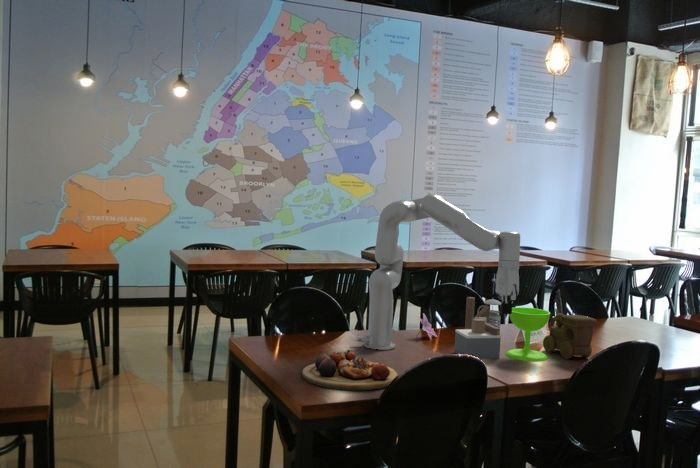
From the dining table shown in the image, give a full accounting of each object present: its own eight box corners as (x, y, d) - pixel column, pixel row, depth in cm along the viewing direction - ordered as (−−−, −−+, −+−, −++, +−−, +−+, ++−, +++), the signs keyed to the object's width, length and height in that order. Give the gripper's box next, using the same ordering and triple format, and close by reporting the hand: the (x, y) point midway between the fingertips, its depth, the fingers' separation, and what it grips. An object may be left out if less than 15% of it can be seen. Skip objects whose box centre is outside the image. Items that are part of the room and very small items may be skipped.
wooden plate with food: (417, 384, 207) (418, 359, 207) (337, 397, 189) (338, 370, 188) (360, 362, 233) (361, 340, 233) (284, 372, 215) (285, 348, 214)
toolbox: (465, 359, 241) (467, 325, 240) (450, 349, 255) (452, 317, 254) (500, 358, 244) (502, 324, 244) (483, 349, 258) (485, 317, 258)
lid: (466, 340, 241) (467, 322, 240) (455, 334, 251) (456, 317, 251) (500, 340, 244) (501, 322, 244) (487, 334, 255) (488, 316, 254)
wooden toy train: (596, 361, 247) (599, 319, 246) (572, 362, 243) (575, 319, 242) (561, 348, 266) (564, 309, 265) (539, 350, 261) (541, 310, 260)
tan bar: (494, 335, 242) (495, 328, 242) (476, 326, 258) (477, 320, 257) (499, 335, 243) (500, 328, 242) (481, 326, 258) (481, 320, 258)
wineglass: (497, 352, 254) (500, 308, 253) (529, 350, 260) (532, 306, 259) (523, 362, 239) (526, 315, 238) (556, 360, 246) (559, 314, 245)
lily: (418, 343, 268) (430, 325, 267) (402, 327, 277) (414, 309, 276) (435, 348, 276) (447, 330, 275) (420, 333, 285) (431, 315, 283)
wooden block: (488, 338, 279) (490, 297, 278) (466, 339, 276) (469, 298, 275) (483, 336, 283) (486, 296, 282) (462, 337, 279) (464, 296, 278)
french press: (504, 334, 288) (507, 280, 286) (478, 333, 288) (481, 279, 286) (499, 330, 298) (502, 277, 296) (474, 329, 298) (477, 276, 296)
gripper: (490, 262, 242) (488, 310, 243) (509, 266, 227) (507, 317, 228) (508, 262, 243) (506, 310, 244) (528, 266, 229) (526, 317, 230)
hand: (506, 313), depth 236 cm, fingers closed
